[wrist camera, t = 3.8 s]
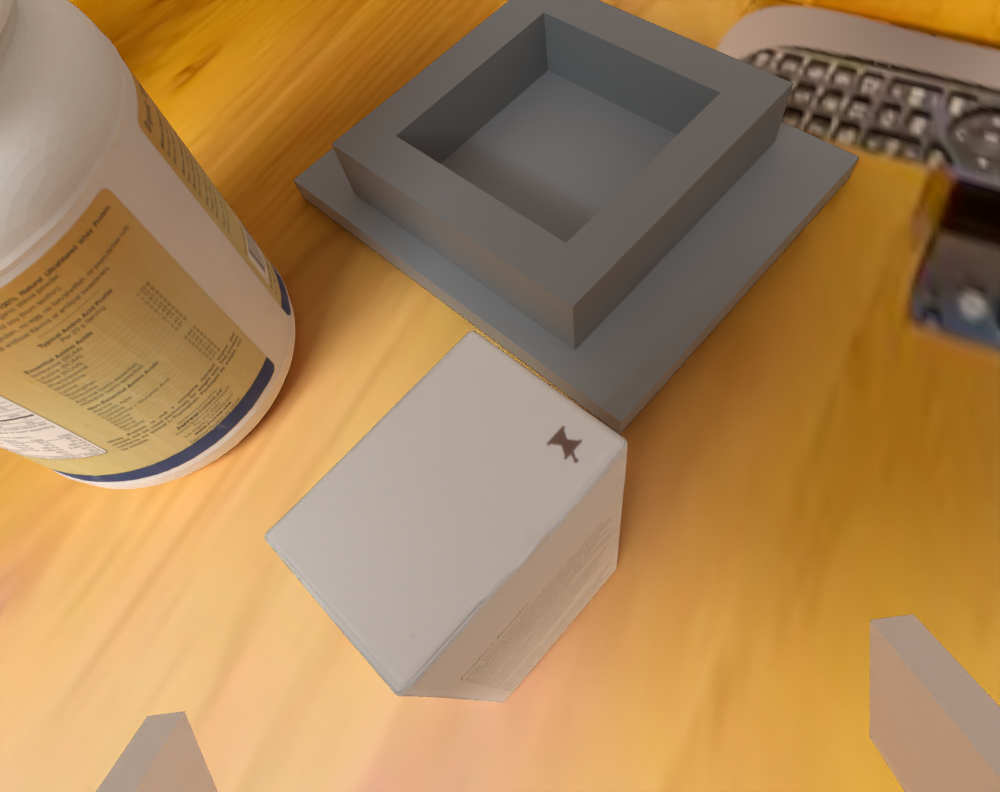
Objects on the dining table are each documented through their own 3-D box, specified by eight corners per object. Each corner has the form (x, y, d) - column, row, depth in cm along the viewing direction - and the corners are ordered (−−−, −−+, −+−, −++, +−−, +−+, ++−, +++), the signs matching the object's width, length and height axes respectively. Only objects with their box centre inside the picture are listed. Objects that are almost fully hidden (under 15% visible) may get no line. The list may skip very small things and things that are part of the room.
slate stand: (303, 197, 32) (265, 130, 29) (517, 20, 36) (508, -59, 32) (619, 434, 25) (624, 384, 21) (849, 177, 28) (887, 96, 25)
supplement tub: (96, 263, 32) (-342, -132, 17) (326, 250, 31) (66, -199, 16) (4, 500, 27) (-748, 229, 12) (277, 500, 25) (-192, 185, 10)
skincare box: (528, 491, 24) (476, 316, 13) (619, 569, 22) (640, 439, 12) (413, 617, 23) (251, 534, 12) (500, 710, 21) (403, 709, 10)
